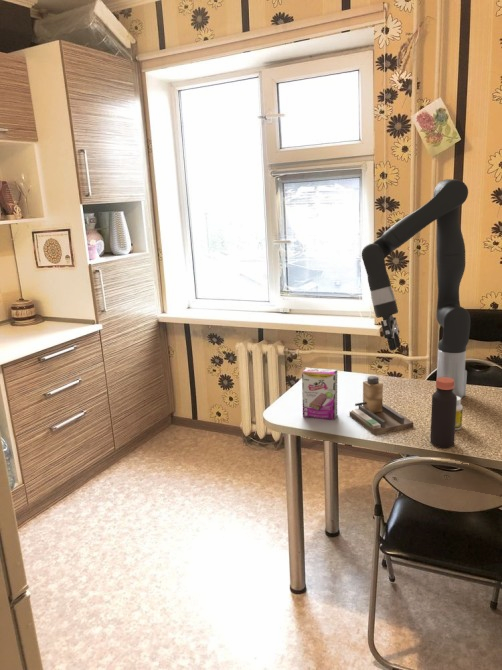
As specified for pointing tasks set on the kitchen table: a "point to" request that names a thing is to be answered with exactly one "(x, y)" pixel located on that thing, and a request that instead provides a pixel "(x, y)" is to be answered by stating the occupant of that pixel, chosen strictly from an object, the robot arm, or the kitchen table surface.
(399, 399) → the kitchen table surface
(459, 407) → the supplement bottle
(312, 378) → the candy bar box
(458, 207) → the robot arm
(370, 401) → the block
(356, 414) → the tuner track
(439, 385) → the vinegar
